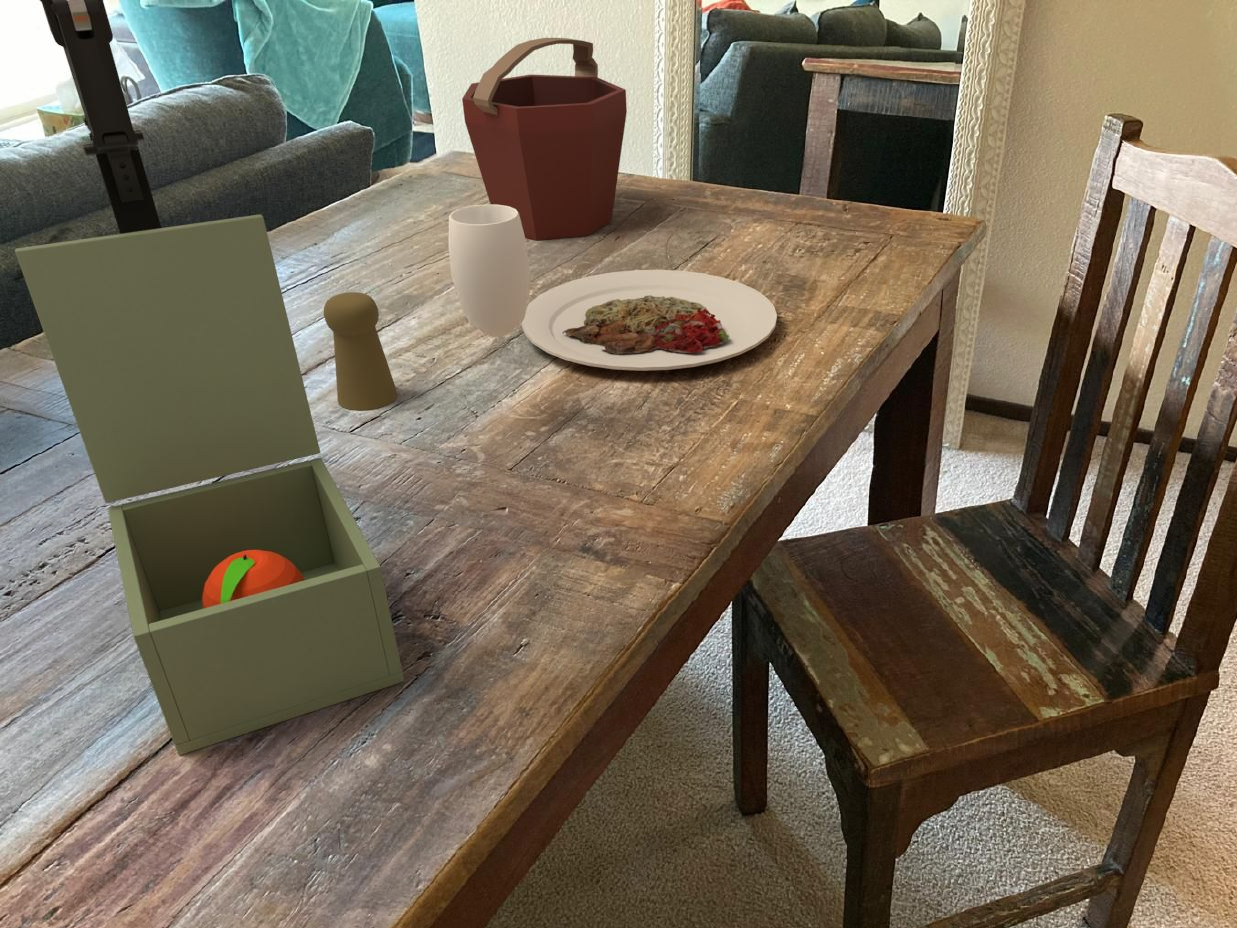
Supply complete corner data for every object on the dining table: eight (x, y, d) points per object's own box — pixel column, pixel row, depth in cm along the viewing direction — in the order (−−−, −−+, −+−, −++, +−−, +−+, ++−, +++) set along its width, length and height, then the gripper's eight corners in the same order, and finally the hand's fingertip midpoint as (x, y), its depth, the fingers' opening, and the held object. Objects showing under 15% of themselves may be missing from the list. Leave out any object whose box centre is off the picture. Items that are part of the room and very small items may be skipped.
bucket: (580, 191, 177) (568, 21, 163) (667, 223, 163) (662, 41, 150) (446, 222, 163) (421, 40, 149) (530, 259, 150) (510, 63, 136)
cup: (545, 433, 108) (524, 225, 96) (470, 439, 107) (440, 228, 95) (544, 401, 114) (524, 201, 102) (473, 406, 113) (445, 204, 101)
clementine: (289, 679, 76) (266, 596, 72) (192, 674, 76) (163, 592, 72) (331, 609, 82) (311, 530, 78) (241, 606, 83) (217, 527, 79)
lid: (263, 216, 74) (260, 214, 75) (14, 251, 68) (14, 248, 69) (320, 453, 83) (318, 449, 84) (105, 503, 77) (104, 499, 77)
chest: (404, 681, 77) (380, 566, 72) (178, 755, 71) (133, 636, 65) (345, 563, 89) (320, 457, 84) (147, 618, 83) (107, 507, 77)
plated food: (570, 275, 145) (568, 250, 143) (794, 294, 140) (795, 268, 138) (482, 369, 120) (479, 340, 118) (750, 395, 115) (750, 366, 113)
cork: (375, 414, 111) (354, 311, 105) (325, 404, 113) (302, 303, 107) (409, 389, 116) (391, 290, 110) (361, 381, 118) (341, 282, 111)
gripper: (-43, -144, 69) (79, 225, 83) (-43, -137, 60) (94, 278, 73) (88, -146, 73) (186, 210, 86) (107, -139, 63) (213, 259, 76)
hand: (143, 241), depth 79 cm, fingers closed
